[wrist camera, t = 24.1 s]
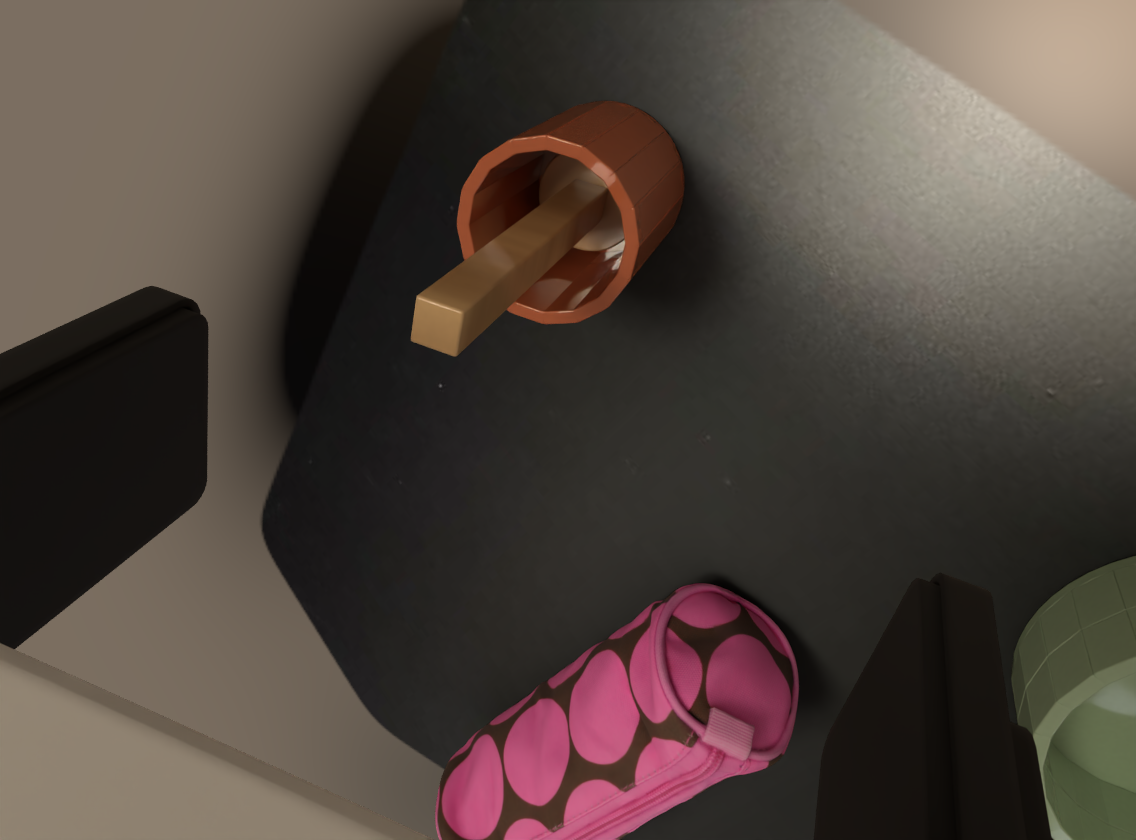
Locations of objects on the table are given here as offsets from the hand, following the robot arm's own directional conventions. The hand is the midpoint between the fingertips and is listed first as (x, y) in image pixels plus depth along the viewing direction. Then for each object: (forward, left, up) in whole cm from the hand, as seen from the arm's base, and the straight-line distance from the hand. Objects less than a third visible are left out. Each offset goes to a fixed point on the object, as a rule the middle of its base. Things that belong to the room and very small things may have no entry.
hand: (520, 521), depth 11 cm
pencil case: (+31, +2, -28) cm, 42 cm away
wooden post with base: (+4, -6, -28) cm, 29 cm away
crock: (+4, -6, -28) cm, 29 cm away
